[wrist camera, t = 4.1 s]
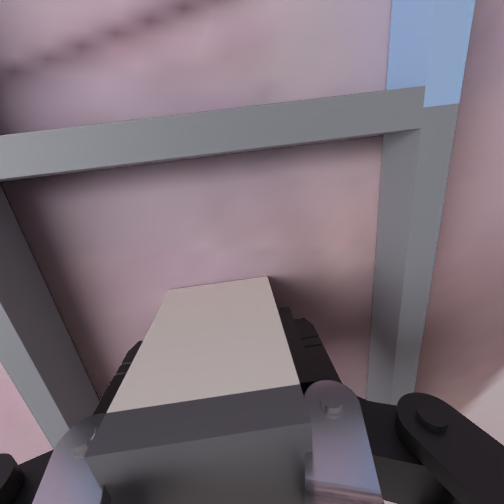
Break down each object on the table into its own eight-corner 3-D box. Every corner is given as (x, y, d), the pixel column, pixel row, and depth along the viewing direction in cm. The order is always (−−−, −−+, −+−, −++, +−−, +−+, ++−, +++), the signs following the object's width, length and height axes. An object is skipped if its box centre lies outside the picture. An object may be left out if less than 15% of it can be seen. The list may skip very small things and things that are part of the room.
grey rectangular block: (267, 276, 10) (311, 422, 4) (275, 353, 11) (317, 540, 6) (169, 289, 10) (83, 457, 4) (189, 365, 11) (145, 569, 6)
